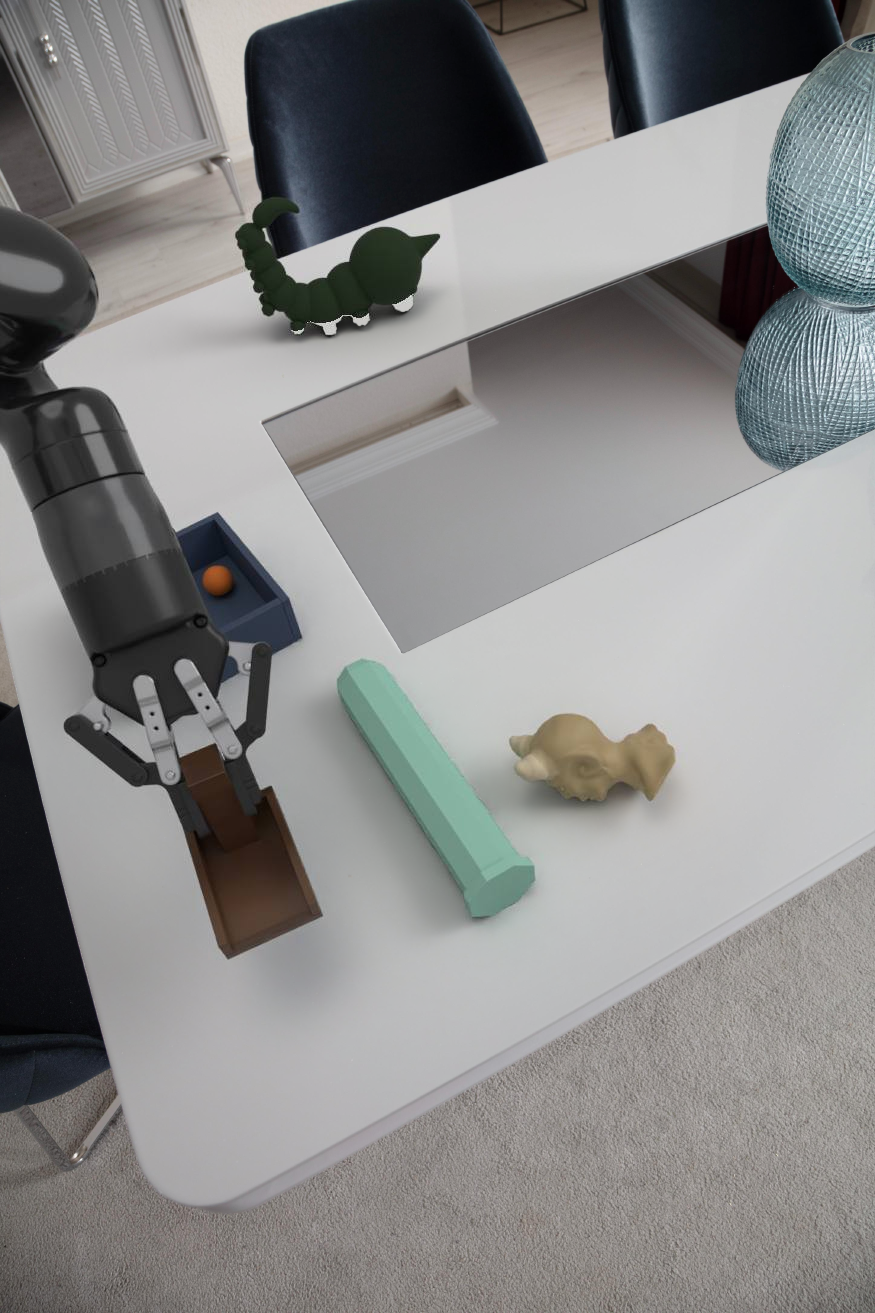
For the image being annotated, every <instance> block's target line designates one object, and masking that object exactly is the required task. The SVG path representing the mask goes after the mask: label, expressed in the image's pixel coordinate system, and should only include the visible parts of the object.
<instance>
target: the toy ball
mask: <svg viewBox="0 0 875 1313" xmlns="http://www.w3.org/2000/svg"><path fill="white" fill-rule="evenodd" d="M233 582H234V580H233V576H232V573H231V572H230V571H229V570H228V569H227V568H225V567H223V566H212V567H210V568H209V569H207V570H206V572H205V573H204V575H203V586H204V588H205V589H206V591H208V592H209V593H210V594H212V595H216V596H221V595H225V594H226V593H228V592H229V591H230V590H231V588H232V586H233Z"/></svg>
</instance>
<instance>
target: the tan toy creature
mask: <svg viewBox="0 0 875 1313" xmlns="http://www.w3.org/2000/svg"><path fill="white" fill-rule="evenodd" d="M508 743H509V746H510V748H511V750H512V752H514V754H515V755H516V756H517V757H518V758H520V759H521V760H519V761H516V762H515V763H514V766H513V769H514V771H515V773H516V775H517V776H518V777H520V778H521V779H523V780H525V781H528V782H531V781H532V782H533V781H546V783H547V784H548V785H549V786H552V787H553V788H556V790H557V791H558V792H559V793H560V794H561V796H562V797H563V798H564V799H566V800H569V799H570V798H573V797H576V798H578V799H579V800H581V802H582V801H583V802H585V801H587V799H589V800H591V801H593V800H595V801H597V802H603V801H605V800H606V799H607V794H608V791H609V790H610V789H611V788H612V787H614V785H615V784H617V783H619V782H622V783H625V784H626V785H628V786H631V787H632V788H634V789H636V790H637V791H639V792H641V793H642V794H644V796H645V797H646V799H647V801H649V802H653V801H654V800H655V798H656V797H657V795H658V793H659V791H660V789H661V788H662V786H663V784H664V782H665V780H666V779H667V777H668V776H669V774H670V772H671V770H672V769H673V767H674V765H675V763H676V752H675V748H674V746H672V745H671V744H669V743H668V739H667V736H666V734H665V733H664V732H662V731H660V730H659V729H658V728H657V726H656V725H655V724H653V723H647V724H645V725H644V726H643V727H642V728H641V729H639V730H638V731H636V732H632V733H628V734H627V735H626V736H625V737H624V738H623V740H621V741H619V742H614V741H613V740H611V739H609V738H608V737H606V736H605V734H604V733H603V732H602V730H601V729H600V728H599V727H598V726H597V724H596V723H595V722H594V721H593V720H592V719H591V718H589V717H588V716H585V715H581V714H578V713H568V712H567V713H558V714H555V715H552V716H551V717H549V718H548V719H547V720H545V721H544V722H543V723H542V724H541V725H540V726H539V727H538V728H537V730H536V732H535V733H533V735H532V734H523V735H511V736H510V737H509V739H508Z"/></svg>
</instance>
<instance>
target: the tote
mask: <svg viewBox="0 0 875 1313" xmlns="http://www.w3.org/2000/svg"><path fill="white" fill-rule="evenodd" d="M176 533H177V536H178V539H179V544H180V547H181V549H182V552H183V555H184V557H185V559H186V561H187V564H188V566H189V568H190V571H191V573H192V576H193V578H194V580H195V583H196V585H197V588H198V590H199V593H200V595H201V597H202V600H203V602H204V605H205V607H206V609H207V612H208V614H209V617H210V619H211V621H212V623H213V624H214V626H215V627H216V628H217V629H218V630H220V631H221V632H222V633H224V634H225V636H226V637H227V639H228V641H232V642H244V643H257V642H266V643H267V644H269V645H270V647H271V649H272V655H275V654H276V653H278V652H280V651H282V650H284V649H285V648H287V647H288V646H290V645H292V644H294V643H296V642H298V641H299V640H302V639H303V636H302V633H301V629H300V627H299V626H300V625H299V623H298V621H297V617H296V613H295V611H294V607H293V605H292V602H291V599H290V597H289V596H288V594H286V592H285V591H284V590H283V589H282V587H281V586H280V585H279V584H278V582H277V581H276V580H275V579H274V577H272V575H271V574H270V573H269V572H268V571H267V569H266V568H265V567H264V565H263V564H262V563H261V562H260V560H258V558H257V557H256V556H255V555H254V553H253V552H252V551H251V550H250V549H249V547H248V546H247V545H246V544H245V543H244V541H242V539H241V538H240V537H239V535H238V534H237V533H236V532H235V531H234V529H233V528H232V527H231V526H230V525H229V523H228V522H227V521H226V520H225V518H223V516H222V515H221V514H220V513H219V511H217V512H215V513H212V514H210V515H209V516H206V517H205V518H202V519H200V520H198V521H196V522H194V523H192V524H190V525H188V526H186V527H184V528H182V529H180V530H178V531H176ZM212 566H223V567H225V568H227V569H228V570H229V571H230V572H231V573H232V576H233V580H234V582H233V586H232V588H231V590H230V591H229V592H228V593H226V594H225V595H221V596H216V595H212V594H210V593H209V592H208V591H206V589H205V588H204V586H203V575H204V573H205V572H206V570H207V569H209V568H210V567H212ZM238 674H241V673H240V672H239V670H238V664H237V661H236V660H235V659H234V658H233V657H231V656H228V658H227V662H226V666H225V670H224V674H223V678H222V682H221V684H222V683H223V682H225V681H227V680H229V679H231V678H232V677H235V676H236V675H238Z"/></svg>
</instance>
